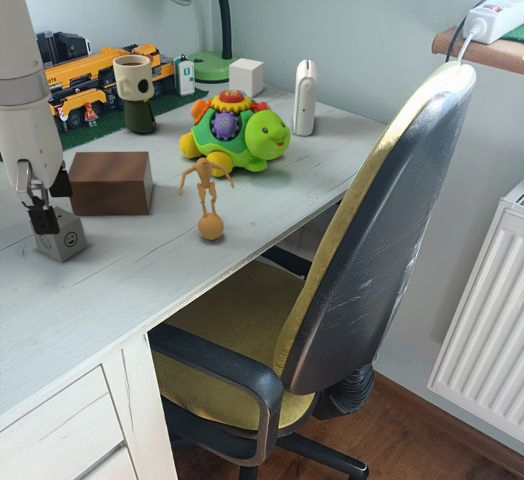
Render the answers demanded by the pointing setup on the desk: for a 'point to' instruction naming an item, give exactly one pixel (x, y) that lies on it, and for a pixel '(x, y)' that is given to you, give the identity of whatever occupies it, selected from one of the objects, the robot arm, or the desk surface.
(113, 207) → the walnut block
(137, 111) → the character mug
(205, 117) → the turtle toy
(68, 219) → the dice cube
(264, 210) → the desk surface
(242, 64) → the white cube
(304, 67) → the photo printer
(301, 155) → the desk surface
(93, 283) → the desk surface
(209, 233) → the figurine
